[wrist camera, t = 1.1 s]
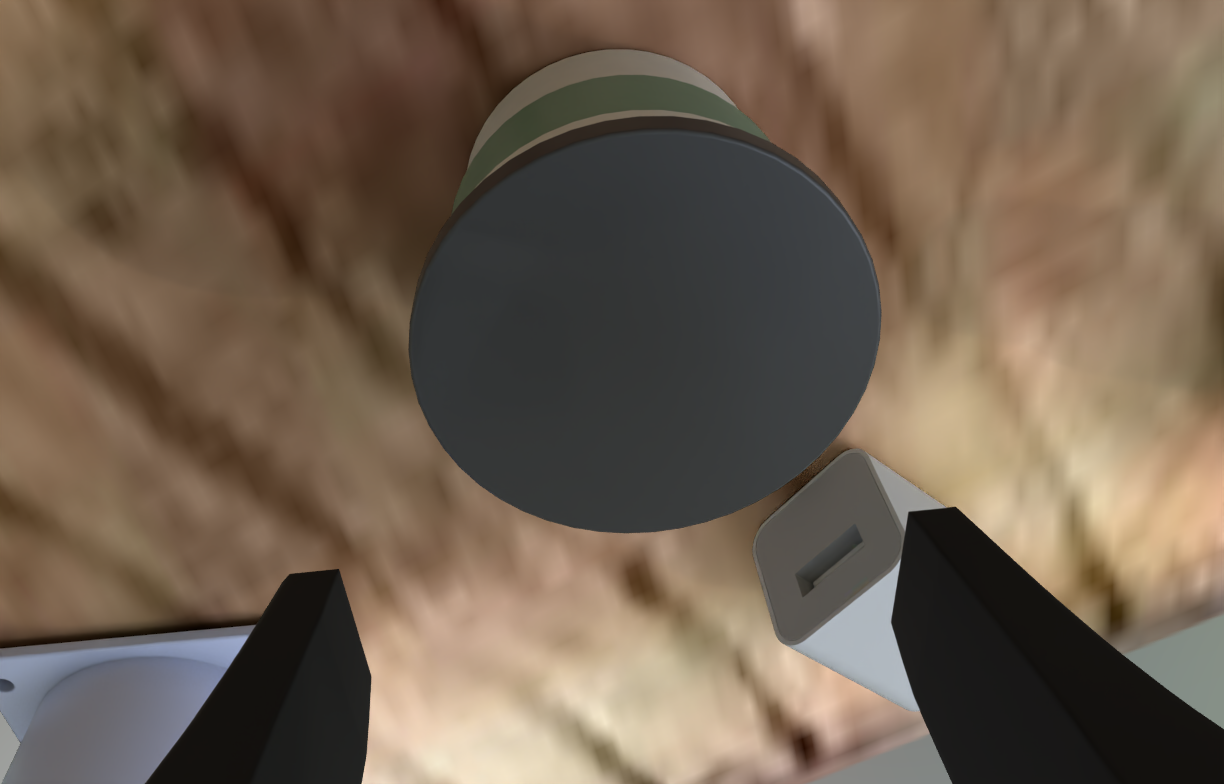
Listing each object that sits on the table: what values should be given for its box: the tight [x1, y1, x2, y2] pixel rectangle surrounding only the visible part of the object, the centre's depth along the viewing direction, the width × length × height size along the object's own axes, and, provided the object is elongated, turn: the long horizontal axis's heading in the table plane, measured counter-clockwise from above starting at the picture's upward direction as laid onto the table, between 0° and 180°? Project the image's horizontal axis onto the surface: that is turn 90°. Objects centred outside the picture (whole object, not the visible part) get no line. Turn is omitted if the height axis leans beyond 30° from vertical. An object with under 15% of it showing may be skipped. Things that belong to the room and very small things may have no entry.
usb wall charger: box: [752, 449, 947, 711], centre depth 24 cm, size 4×7×4 cm, turn 51°
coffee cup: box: [409, 49, 882, 533], centre depth 17 cm, size 7×7×6 cm
